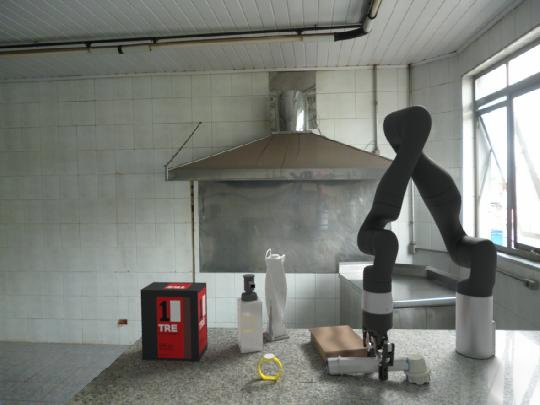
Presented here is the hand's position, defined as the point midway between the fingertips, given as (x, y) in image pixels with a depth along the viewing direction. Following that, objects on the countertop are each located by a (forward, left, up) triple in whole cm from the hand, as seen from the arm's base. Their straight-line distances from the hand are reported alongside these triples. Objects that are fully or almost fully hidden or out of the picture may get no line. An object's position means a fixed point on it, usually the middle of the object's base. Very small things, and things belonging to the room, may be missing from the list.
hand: (377, 373), depth 92 cm
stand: (+5, -16, -1) cm, 17 cm away
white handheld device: (0, 0, -1) cm, 1 cm away
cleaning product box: (+52, -23, -1) cm, 57 cm away
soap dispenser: (+30, -22, -1) cm, 37 cm away
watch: (+27, -4, -1) cm, 27 cm away
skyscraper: (+21, -31, -1) cm, 37 cm away
